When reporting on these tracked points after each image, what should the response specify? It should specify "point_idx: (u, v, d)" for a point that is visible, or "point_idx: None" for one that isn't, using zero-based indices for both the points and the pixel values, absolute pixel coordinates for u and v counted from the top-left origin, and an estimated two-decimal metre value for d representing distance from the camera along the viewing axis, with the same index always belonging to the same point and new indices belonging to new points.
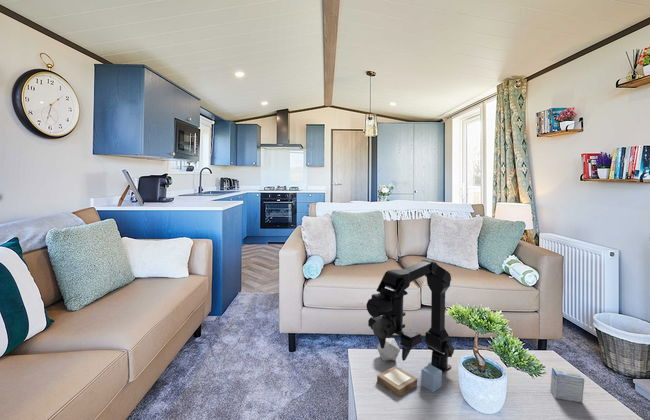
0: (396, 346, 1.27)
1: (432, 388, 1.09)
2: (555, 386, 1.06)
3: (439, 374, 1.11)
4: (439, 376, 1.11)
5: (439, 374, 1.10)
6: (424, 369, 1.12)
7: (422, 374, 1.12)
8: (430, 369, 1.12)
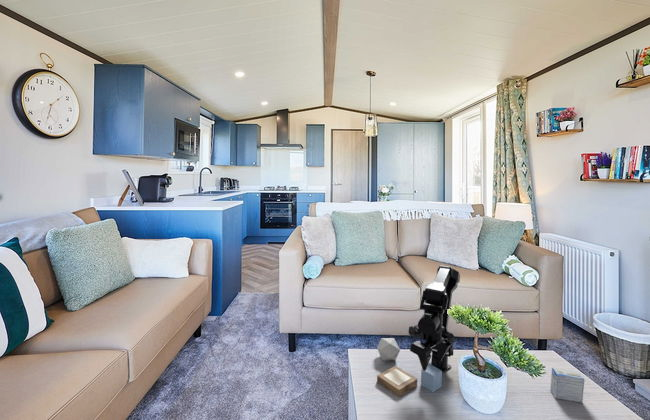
0: (396, 346, 1.27)
1: (432, 388, 1.09)
2: (555, 386, 1.06)
3: (439, 374, 1.11)
4: (439, 376, 1.11)
5: (439, 374, 1.10)
6: None
7: (422, 374, 1.12)
8: (430, 369, 1.12)
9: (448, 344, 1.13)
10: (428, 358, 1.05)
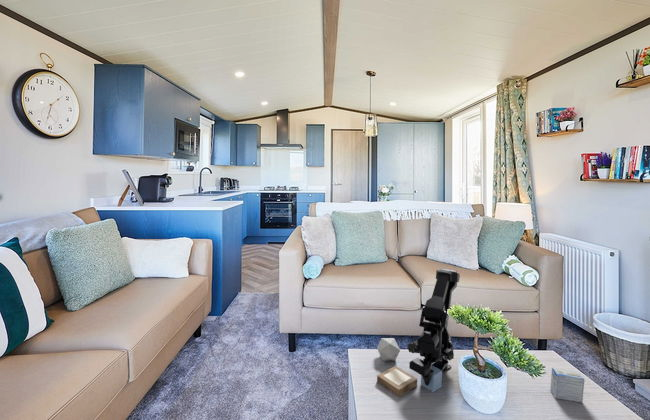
0: (396, 346, 1.27)
1: (432, 388, 1.09)
2: (555, 386, 1.06)
3: (439, 374, 1.11)
4: (439, 376, 1.11)
5: (439, 374, 1.10)
6: None
7: None
8: None
9: (444, 362, 1.12)
10: (431, 374, 1.07)
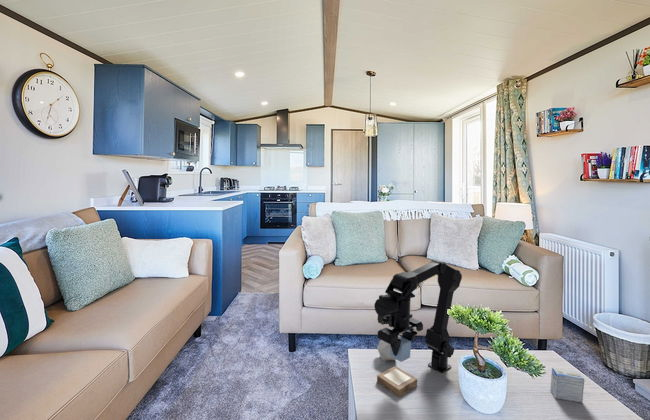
0: None
1: (400, 358, 1.09)
2: (555, 386, 1.06)
3: (408, 344, 1.10)
4: (407, 346, 1.10)
5: (407, 345, 1.10)
6: None
7: None
8: None
9: (413, 333, 1.12)
10: (398, 343, 1.07)
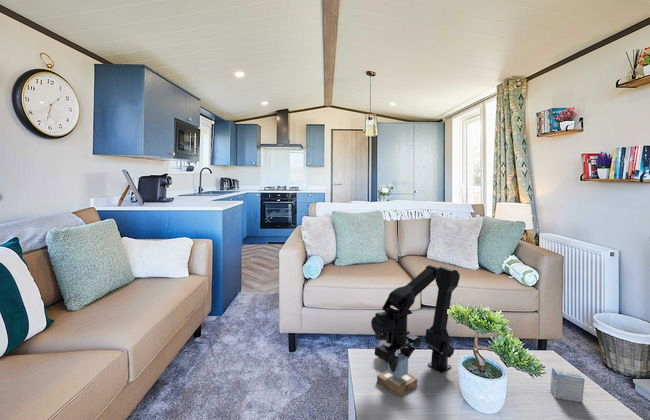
0: None
1: (398, 374, 1.10)
2: (555, 386, 1.06)
3: (405, 360, 1.11)
4: (405, 362, 1.11)
5: (405, 361, 1.11)
6: None
7: None
8: None
9: (410, 349, 1.13)
10: (395, 360, 1.07)
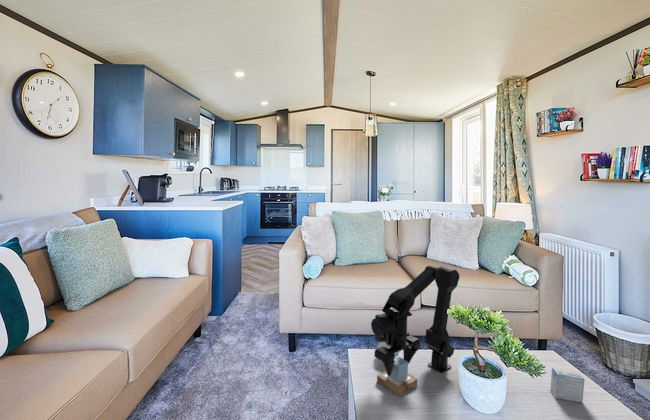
0: None
1: (397, 379, 1.10)
2: (555, 386, 1.06)
3: (405, 365, 1.11)
4: (404, 367, 1.11)
5: (404, 365, 1.11)
6: None
7: None
8: (396, 360, 1.13)
9: (414, 350, 1.14)
10: (391, 364, 1.06)
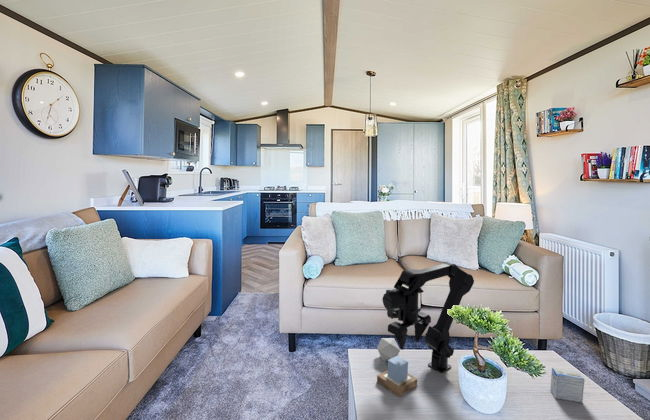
0: (396, 346, 1.27)
1: (397, 379, 1.10)
2: (555, 386, 1.06)
3: (405, 365, 1.11)
4: (404, 367, 1.11)
5: (404, 365, 1.11)
6: (390, 360, 1.13)
7: (389, 365, 1.13)
8: (396, 360, 1.13)
9: (425, 325, 1.19)
10: (404, 337, 1.11)
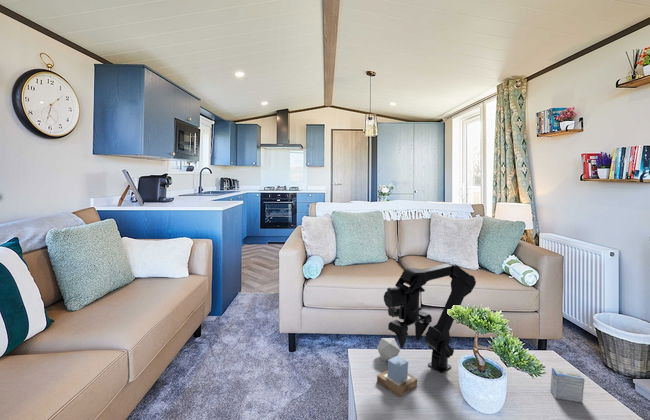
0: (396, 346, 1.27)
1: (397, 379, 1.10)
2: (555, 386, 1.06)
3: (405, 365, 1.11)
4: (404, 367, 1.11)
5: (404, 365, 1.11)
6: (390, 360, 1.13)
7: (389, 365, 1.13)
8: (396, 360, 1.13)
9: (425, 324, 1.19)
10: (405, 335, 1.11)
